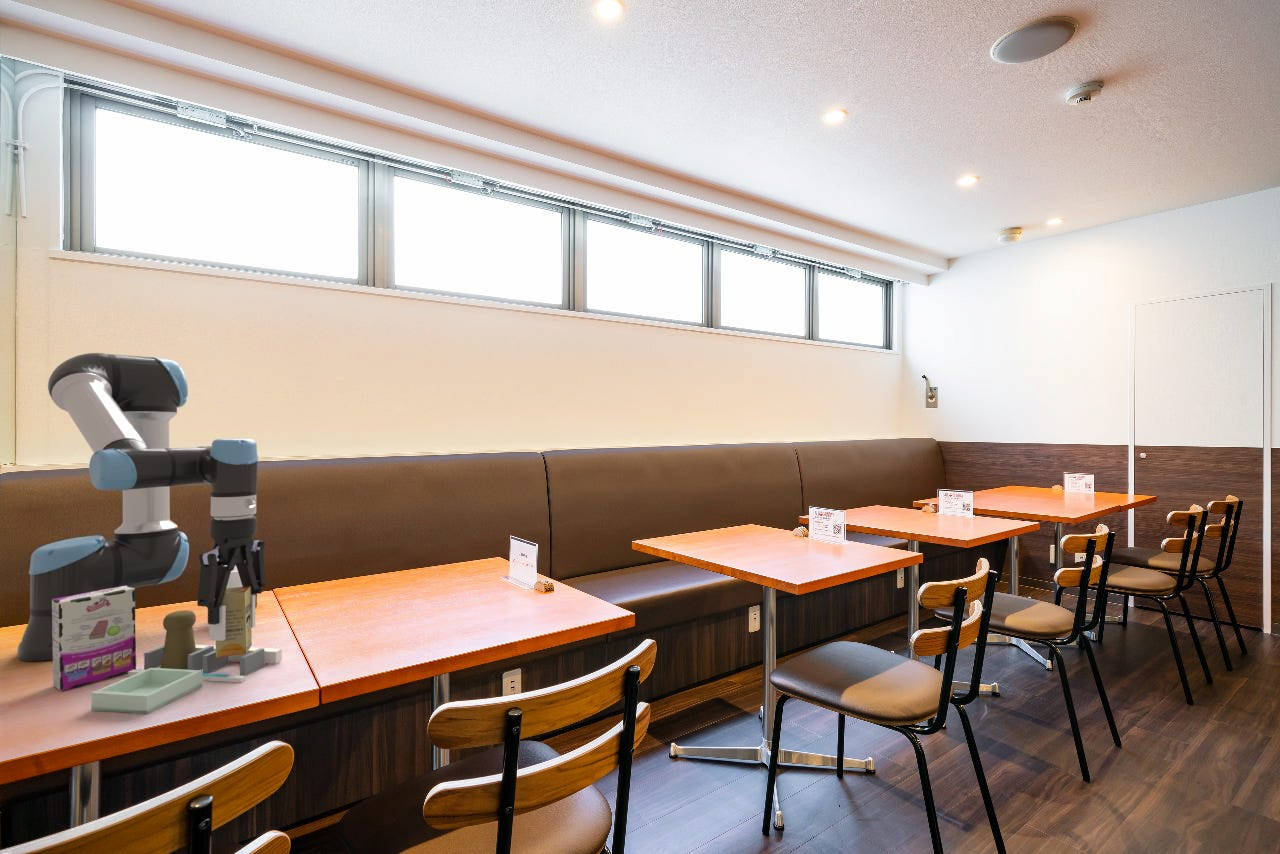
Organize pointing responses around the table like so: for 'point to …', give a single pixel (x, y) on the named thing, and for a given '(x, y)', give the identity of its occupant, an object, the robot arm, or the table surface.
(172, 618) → the cork
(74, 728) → the table surface
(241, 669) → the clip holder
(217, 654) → the shoe polish box
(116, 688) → the tray
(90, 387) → the robot arm
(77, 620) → the candy bar box
